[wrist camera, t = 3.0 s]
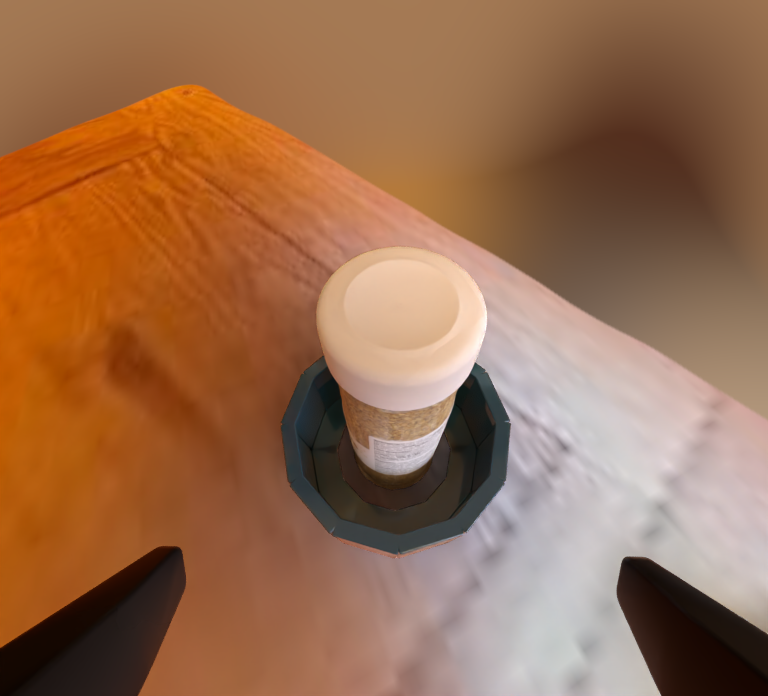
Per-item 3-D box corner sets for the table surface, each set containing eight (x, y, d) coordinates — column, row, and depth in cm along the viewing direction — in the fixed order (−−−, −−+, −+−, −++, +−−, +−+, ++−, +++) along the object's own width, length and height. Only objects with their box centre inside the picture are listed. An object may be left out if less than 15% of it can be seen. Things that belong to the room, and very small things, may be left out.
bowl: (397, 608, 17) (400, 618, 13) (265, 451, 21) (237, 423, 17) (523, 449, 21) (553, 421, 17) (391, 341, 25) (392, 299, 21)
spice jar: (353, 414, 22) (316, 242, 11) (429, 410, 22) (473, 235, 11) (354, 495, 20) (307, 386, 8) (439, 490, 20) (510, 375, 8)
